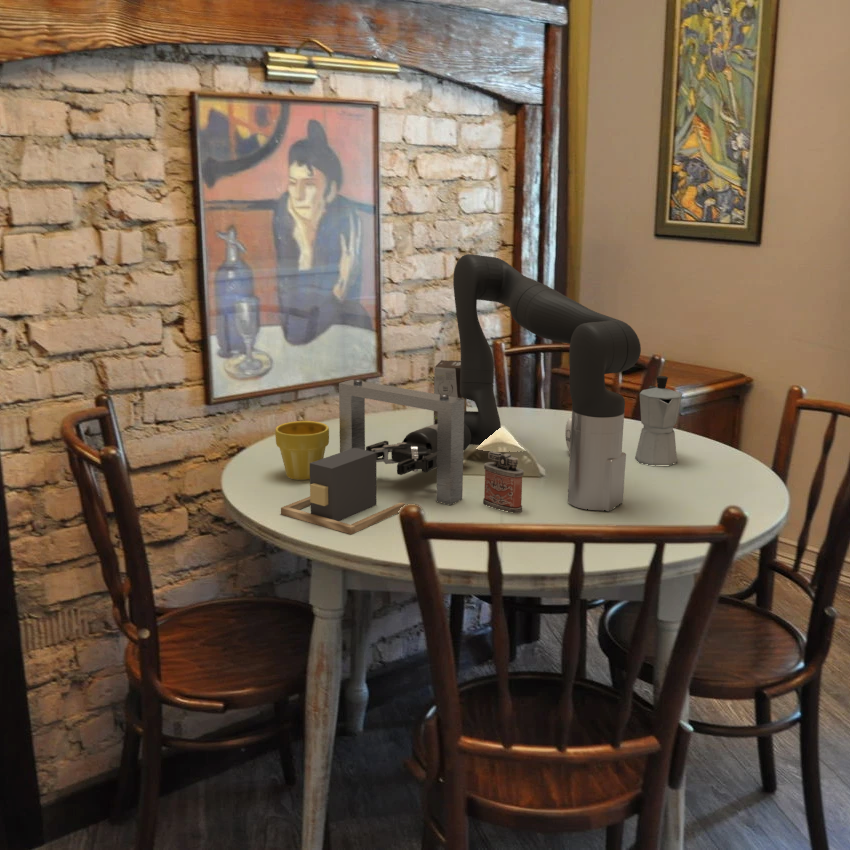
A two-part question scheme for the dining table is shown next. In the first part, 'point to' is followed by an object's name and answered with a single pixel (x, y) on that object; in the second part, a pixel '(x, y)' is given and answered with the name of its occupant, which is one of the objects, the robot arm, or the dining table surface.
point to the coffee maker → (658, 424)
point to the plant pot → (301, 446)
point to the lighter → (503, 483)
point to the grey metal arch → (446, 406)
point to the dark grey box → (343, 484)
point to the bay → (295, 512)
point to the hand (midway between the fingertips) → (380, 465)
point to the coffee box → (447, 381)
